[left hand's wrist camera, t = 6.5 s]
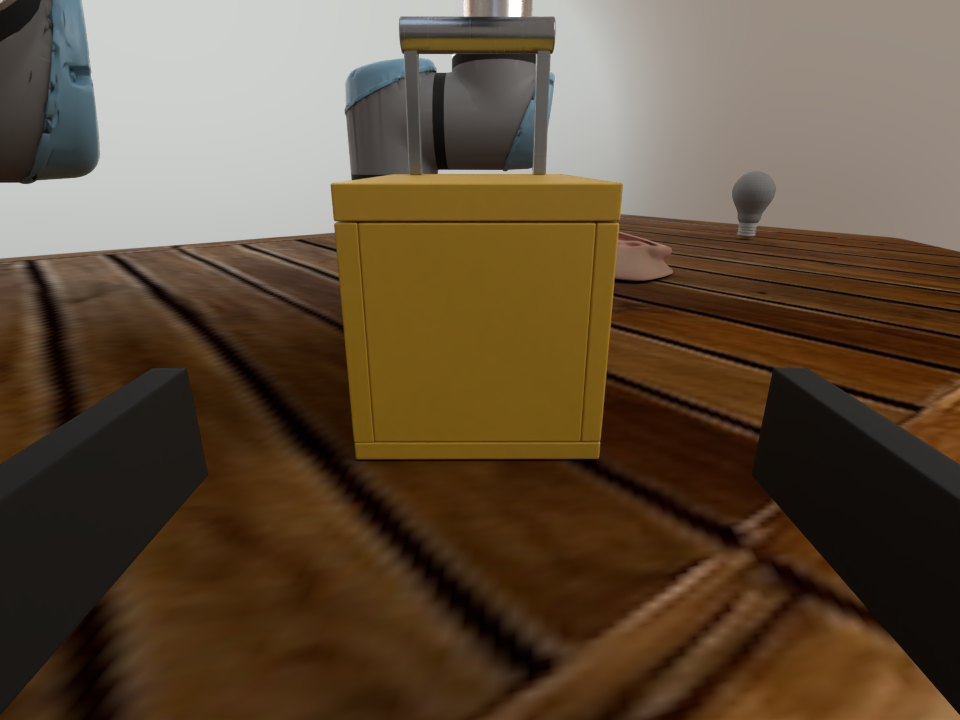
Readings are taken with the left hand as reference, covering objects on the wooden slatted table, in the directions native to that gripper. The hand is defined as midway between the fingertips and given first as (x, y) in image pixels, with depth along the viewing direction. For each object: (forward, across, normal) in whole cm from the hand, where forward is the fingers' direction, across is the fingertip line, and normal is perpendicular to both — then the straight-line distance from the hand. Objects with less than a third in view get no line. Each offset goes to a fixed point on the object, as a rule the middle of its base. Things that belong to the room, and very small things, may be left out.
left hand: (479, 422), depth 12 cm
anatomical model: (+50, +16, -6) cm, 53 cm away
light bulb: (+76, +42, -6) cm, 87 cm away
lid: (+16, 0, +4) cm, 16 cm away
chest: (+16, 0, -6) cm, 17 cm away
